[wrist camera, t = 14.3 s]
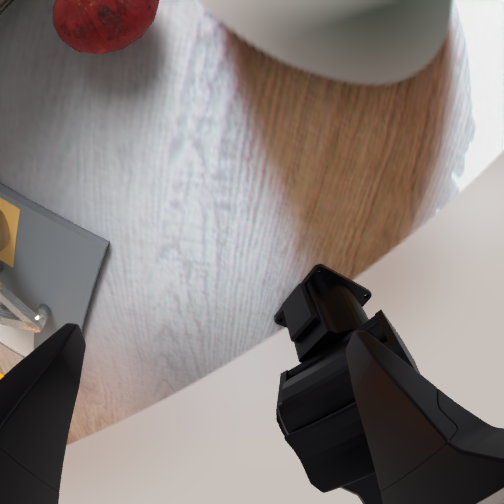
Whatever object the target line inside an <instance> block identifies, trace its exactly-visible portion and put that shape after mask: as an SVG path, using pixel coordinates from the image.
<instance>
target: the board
mask: <svg viewBox="0 0 504 504" xmlns="http://www.w3.org/2000/svg"><path fill="white" fill-rule="evenodd" d="M0 210H1V211H2V212H3V214H4V215H5V217H6V220H7V222H8V226H9V232H10V236H9V241H8V244H7V245H6V247H5V248H4V249H3V250H2V251H1V252H0V262H1V264H2V266H3V271H2V272H1V273H0V281H1V282H2V283H3V284H4V285H5V286H6V287H7V288H8V289H9V290H10V291H11V292H12V293H13V294H14V295H15V296H16V297H17V298H19V299H20V300H21V301H22V302H23V303H24V304H25V305H26V306H27V307H29V308H30V309H31V310H32V311H33V312H34V313H35V311H36V310H37V308H38V307H39V305H40V304H45V305H47V306H48V307H49V308H50V310H51V315H50V316H49V318H48V320H47V322H46V323H45V325H44V327H43V329H42V330H41V332H37V333H36V332H35V331H30V330H25V329H20V328H15V327H10V326H6V325H1V324H0V343H1V344H2V345H4V346H5V347H7V348H9V349H10V350H12V351H14V352H15V353H17V354H19V355H20V356H22V357H24V358H25V357H26V356H27V355H28V354H30V353H31V352H32V351H33V350H34V349H36V348H37V347H38V346H39V345H40V344H42V343H43V342H44V341H45V340H46V339H48V338H49V337H50V336H51V335H52V334H54V333H55V332H56V331H57V330H59V329H60V328H61V327H62V326H63V325H65V324H66V323H75V324H78V325H79V326H80V329H81V331H82V330H83V326H84V322H85V318H86V314H87V311H88V307H89V304H90V300H91V297H92V293H93V290H94V287H95V283H96V280H97V277H98V274H99V271H100V268H101V265H102V262H103V259H104V256H105V253H106V250H107V248H108V245H109V241H107V240H105V239H103V238H101V237H99V236H97V235H95V234H93V233H91V232H89V231H87V230H85V229H83V228H81V227H79V226H77V225H75V224H74V223H72V222H70V221H68V220H66V219H64V218H62V217H60V216H58V215H56V214H55V213H53V212H51V211H49V210H47V209H45V208H43V207H42V206H40V205H38V204H36V203H34V202H32V201H31V200H29V199H27V198H25V197H23V196H22V195H20V194H18V193H16V192H15V191H13V190H11V189H9V188H8V187H6V186H4V185H2V184H1V183H0ZM8 311H10V310H9V309H8Z"/></svg>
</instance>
